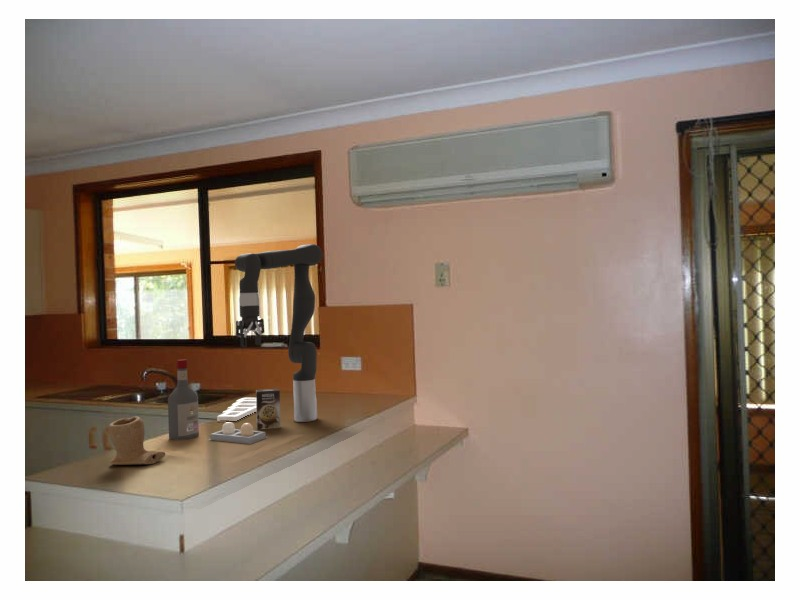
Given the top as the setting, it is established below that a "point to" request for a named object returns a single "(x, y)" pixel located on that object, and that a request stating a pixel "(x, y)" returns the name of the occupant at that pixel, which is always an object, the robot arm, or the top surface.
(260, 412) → the coffee box
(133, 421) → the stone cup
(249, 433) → the brown egg
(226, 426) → the cream egg
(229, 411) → the holder
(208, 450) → the top surface
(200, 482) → the top surface
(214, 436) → the egg carton
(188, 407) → the liquor
